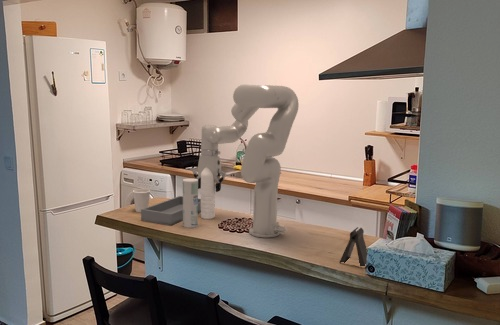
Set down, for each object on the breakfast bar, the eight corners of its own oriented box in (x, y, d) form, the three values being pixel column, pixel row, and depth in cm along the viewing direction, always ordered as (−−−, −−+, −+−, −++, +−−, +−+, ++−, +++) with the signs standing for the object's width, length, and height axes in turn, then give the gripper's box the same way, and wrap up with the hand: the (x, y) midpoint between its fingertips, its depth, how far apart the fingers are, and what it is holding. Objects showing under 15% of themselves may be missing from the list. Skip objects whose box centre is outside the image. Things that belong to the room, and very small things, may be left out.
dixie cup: (140, 214, 204) (139, 193, 202) (129, 210, 209) (128, 190, 207) (154, 210, 210) (154, 190, 209) (143, 207, 215) (143, 187, 214)
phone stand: (339, 263, 150) (341, 229, 148) (345, 257, 155) (347, 224, 153) (365, 269, 145) (367, 234, 143) (370, 263, 150) (372, 229, 148)
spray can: (194, 228, 184) (194, 181, 181) (180, 227, 186) (180, 180, 182) (200, 224, 190) (200, 179, 187) (186, 222, 192) (186, 177, 189)
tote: (207, 209, 214) (207, 199, 213) (171, 225, 187) (171, 214, 186) (179, 205, 221) (179, 195, 220) (141, 220, 194) (140, 209, 193)
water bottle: (208, 220, 197) (209, 165, 193) (197, 217, 200) (197, 163, 196) (220, 215, 204) (221, 162, 200) (209, 213, 207) (209, 161, 204)
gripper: (230, 153, 197) (229, 190, 200) (197, 150, 205) (196, 185, 207) (222, 155, 191) (221, 194, 194) (188, 151, 198) (188, 188, 201)
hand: (208, 189), depth 201 cm, fingers open, 9 cm apart
